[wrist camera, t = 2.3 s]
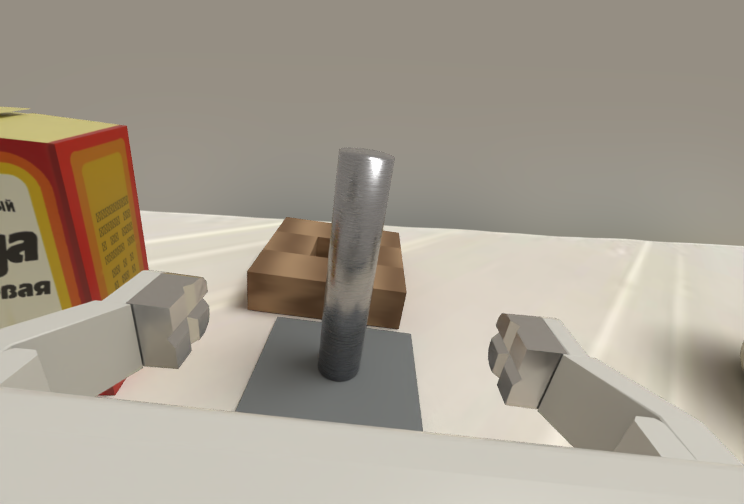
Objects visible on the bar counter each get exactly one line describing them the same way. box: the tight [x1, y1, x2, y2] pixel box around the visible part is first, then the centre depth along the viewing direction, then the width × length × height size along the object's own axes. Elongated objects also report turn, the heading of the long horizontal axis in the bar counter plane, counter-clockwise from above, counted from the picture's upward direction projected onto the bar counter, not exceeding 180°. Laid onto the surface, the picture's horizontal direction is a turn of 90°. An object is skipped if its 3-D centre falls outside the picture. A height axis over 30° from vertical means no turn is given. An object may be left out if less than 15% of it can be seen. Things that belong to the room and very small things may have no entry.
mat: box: [235, 317, 423, 432], centre depth 27 cm, size 12×10×1 cm
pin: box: [318, 148, 395, 382], centre depth 23 cm, size 3×3×16 cm
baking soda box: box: [0, 107, 149, 395], centre depth 21 cm, size 10×6×16 cm
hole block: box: [247, 217, 406, 329], centre depth 38 cm, size 14×14×4 cm
